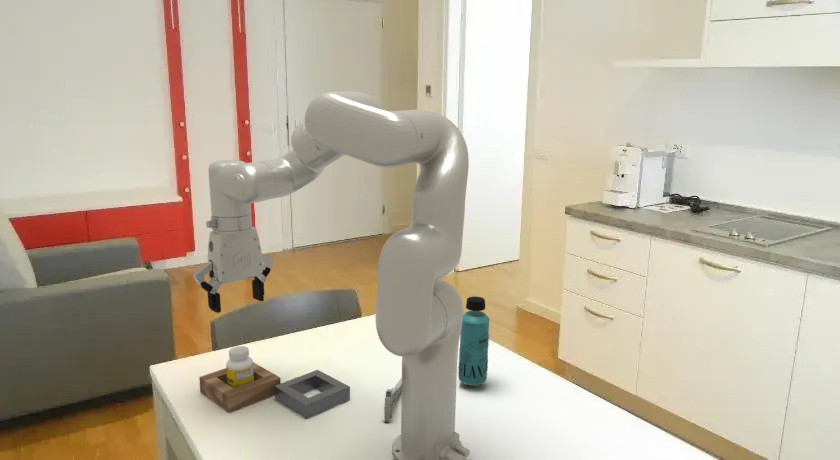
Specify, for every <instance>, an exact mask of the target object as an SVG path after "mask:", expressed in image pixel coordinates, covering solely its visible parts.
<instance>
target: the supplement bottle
mask: <svg viewBox="0 0 840 460" xmlns="http://www.w3.org/2000/svg"><path fill="white" fill-rule="evenodd" d="M253 362H254V361H253V359H252V357H251V356H250V349H249V348H248V347H247V346H244V345H241V346H240V345H238V346H233V347H231V348H230V349H228V360H227V361H226V364H225V368H226V370H227V384H228V385H229V386H231V387H232V388H236V387H239V386H241V385H244V384H247V383H250V382H252V381H254V372H253Z"/></svg>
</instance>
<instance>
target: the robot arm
mask: <svg viewBox="0 0 840 460" xmlns="http://www.w3.org/2000/svg"><path fill="white" fill-rule="evenodd" d="M290 142H291V143H290V144H291V148H292V149H291V150H290V151H288V152H287V153H285V154H283V155H282V156H280V157H278V158H273V159H266V160H258V161H252V162H245V161H242V160H237V159H233V160H232V159H227V160H225V159H224V160H217V161H213V162H211V163H210V164H209V167H208V182H209V185H208V186H209V196H210V197H209V199H210V211H211V212H210V213H211V216H210V220H207V221H206V222H205V226H206V228H208V229H210V228H211V230H212V231H209V237H208V243H207V263H205V264H204V265H203V266H201V267H200V268H199V269H198V270H196V271H195V272H194V273H193V274H192V277H193V279H194V280H195V281H196V283H197V285H198V287H200V288H201V289H203V290H204V291H205V292H207V304H208V305H207V306H208V307H209V309H210V311H212V312H214V313H217V314H219V313H221V312H222V306H221V305H222V303H221V294H220V293H219V292H218V291H219V289H220V288H221V286H222V284H230V283H234V282H238V281H239V282H240V281H244V280H249V279H253V280H252V281H251V285H252V288H251V290H252V299H254V300H257V301H259V302H263V301H265V300H264V299H265V298H264V297H265V284H264V283H266V281H267V277H268V275H269V274H270V273H271V268H272V266H273V263H274V261H275V260H274V258H273V257H270V256H268V255H265V254H262V247H261V242H260V238H259V234H258V231H257V228H256V227H254V226H253V221H252V208H251V207H252V206H251V204H254V203H260V202H265V201H268V200H273V199H278V198H283V197H286V196H289V195H291V194H293V193H295V192H298V191H299V190H301V189H302V188H304V187H306V186H307V185H309V184H310V183H313V182H314V181H316V179H318V178H319V177H320V175H321V174H322V173H323V171H324V170H325V168H326V167H328V166H329V165H331V164H333V163H334V162H336V161H337V160H339V159H341V158H343V156H348V157H350V158H353V159H357V160H359V161H362V162H365V163H367V164H370V165H374V166H376V167H379V168H380V167H381V168H389V169H390V168H393V169H394V168H399V167H404V166H409V165H414V164H418V165H419V173H418V177H417V179H416V182H415V184H414V188H413V194H412V209H411V218H410V223H409V225H408V227H405V228H402V229H400V230H397V231H396V232H395V233H393V234H391V236H389V238H388V239H386V241H385V243H384V244H383V246H382V249H381V250H380V255H379V258H378V265H377V280H376V295H375V296H376V300H375V301H376V302H375V327H376V329H375V330H376V332H377V336H378V339H379V340H380V342H381V345H382V346H384V348H385V350H387V351H389V353H391V354H392V355H395V356H398V357H401V358H402V359H401V378H402V390H401V404H400V405H401V409H400V410H401V419H400V424H401V425H400V431H401V432H400V434H399V435H398V436H397V437H396V438H395V439H394V441H393V443H392V445H391V446H392V447H391V454H392V457H393V459H394V460H467V458H468V457H469V456H470V453H471V450H470V449H468V447H467V448H466V447H464V446H463V443H462V441H461V440H460V433H458V432H456V412H457V411H456V407H457V406H456V404H457V403H456V401H457V376H458V358H459V346H460V333H461V327H462V321H463V314H464V305H463V300H462V297H461V295H460V293H459V292H458V290H457V289H456V287H455V286H453V285H452V284H451V283H449V282H447V281H446V280H442V279H441V278H443V277H445V276H446V275H448V274H449V273H451V272H452V271H454V269H456V267H457V266H458V265H459V263H460V260H461V257H462V249H463V237H464V225H465V211H466V210H465V209H466V197H467V196H466V194H467V187H468V186H467V185H468V178H469V176H468V175H469V166H470V165H469V164H470V163H469V162H470V161H469V159H470V158H469V152H468V151H469V150H468V145H467V143H466V139H465V137H464V135H463V134H462V132H461V130H460V129H459V128H458V126H456V125H455V123H454V122H453V121H452V120H450V119H449V118H448V117H446V116H444V115H443V114H440V113H438V112H436V111H432V110H426V109H407V110H406V109H405V110H392V111H391V110H386V109H382V107H381V105H380V103H379V102H378V101H377V100H376V99H375V98H374V97H373V96H371V95H370V94H367V93H366V92H361V91H326V92H322V93H320V94H318V95H317V96H316V97H314V98H313V99H312V100H311V101H310V102H309V104H308V105H307V107H306V110H305V114H304V122H303V123H301V124H300V125H299V126H296V127H295V129H294V130H293V131H292V134H291V138H290ZM207 274H208V277H209V280H208V281H206V280H205V276H206V275H207Z"/></svg>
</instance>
